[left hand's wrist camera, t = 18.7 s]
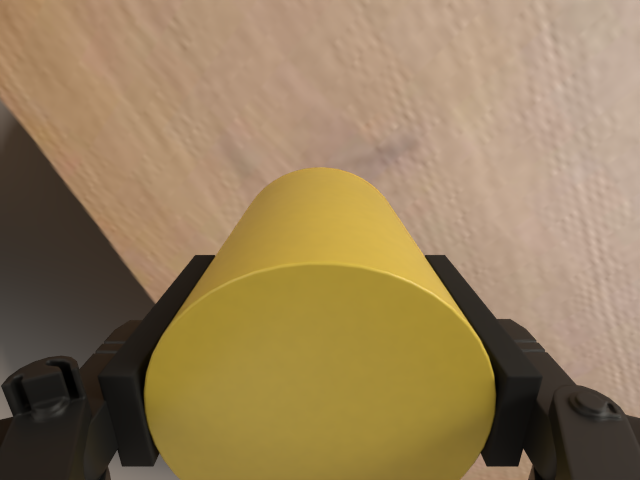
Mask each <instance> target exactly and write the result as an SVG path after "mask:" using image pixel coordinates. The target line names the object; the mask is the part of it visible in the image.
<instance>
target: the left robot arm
mask: <svg viewBox="0 0 640 480" xmlns="http://www.w3.org/2000/svg"><path fill="white" fill-rule="evenodd" d="M214 258H215V255H195V256H194V257H193V259H192V260H191V261H190V262H189V264H188V265H187V266H186V267H185V269H184V270H183V271H182V272H181V273H180V275H179V276H178V277H177V278H176V280H175V281H174V282H173V283H172V285H171V286H170V287H169V288H168V290H167V291H166V292H165V293H164V294H163V296H162V297H161V298H160V299H159V301H158V302H157V303H156V304H155V306H154V307H153V308H152V309H151V311H150V312H149V313H148V314H147V316H146V317H145V318H144V319H143V320H130V321H128V322H127V323H125V324H124V325H122V326H120V327H119V328H117V329H116V330H114V331H113V333H112V334H111V335H110V336H109V337H108V338H107V339H106V340H105V342H104V344H102V345H101V346H100V347H99V348H98V349H97V350H96V353H95V354H93V355H92V356H91V357H90V358H89V359H88V360H87V361H86V363H85V364H84V365H83V366H82V367H81V368H80V369H79V367H78V364H77V361H76V360H74V359H73V358H72V357H67V356H55V357H48V358H45V359H41V360H38V361H35V362H32V363H30V364H28V365H26V366H24V367H22V368H20V369H19V370H17V371H16V372H15V373H13V374H12V375H10V376H9V377H8V378H7V379H6V381H5V382H4V383H3V384H2V385H1V387H2V389H3V392H4V394H5V397H6V399H7V402H8V404H9V407H10V409H11V412H12V414H13V417H10V418H6V419H2V420H0V480H111V478H110V472H109V469H108V465H109V463H110V461H111V459H112V458H113V456H114V454H115V453H116V451H117V450H118V453H119V457H120V461H121V464H122V466H154V464H155V462H156V460H157V457H158V455H159V451H158V449H157V448H156V446H155V444H154V442H153V439H152V437H151V434H150V431H149V429H148V425H147V420H146V416H145V411H144V385H145V378H146V372H147V369H148V365H149V362H150V359H151V356H152V354H153V352H154V350H155V348H156V346H157V344H158V342H159V340H160V338H161V336H162V335H163V333H164V332H165V330H166V329H167V327H168V326H169V324H170V323H171V321H172V320H173V318H174V317H175V316H176V314H177V313H178V311H179V310H180V308H181V307H182V305H183V304H184V302H185V301H186V299H187V298H188V296H189V295H190V293H191V292H192V290H193V289H194V287H195V286H196V284H197V283H198V281H199V280H200V278H201V277H202V276H203V274H204V273H205V271H206V270H207V268H208V267H209V265H210V264H211V262H212V261H213V259H214ZM425 258H426V259H427V261H428V262H429V264H430V265H431V267H432V268H433V270H434V271H435V273H436V274H437V276H438V277H439V279H440V280H441V282H442V283H443V285H444V286H445V288H446V289H447V291H448V292H449V294H450V295H451V297H452V298H453V300H454V301H455V303H456V304H457V306H458V307H459V309H460V310H461V312H462V313H463V315H464V316H465V318H466V319H467V321H468V322H469V324H470V325H471V326H472V328H473V329H474V331H475V332H476V334H477V335H478V337H479V338H480V340H481V342H482V344H483V346H484V348H485V350H486V352H487V354H488V356H489V359H490V363H491V366H492V370H493V373H494V378H495V388H496V406H495V416H494V420H493V424H492V428H491V432H490V434H489V436H488V439H487V441H486V444H485V446H484V448H483V450H482V451H481V455H482V457H483V459H484V461H485V463H486V466H518V465H519V462H520V458H521V454H522V451H523V449H524V450H525V452H526V454H527V456H528V457H529V459H530V461H531V462H532V464H533V465H532V469H531V472H530V475H529V479H528V480H640V418H637V417H632V416H628V415H625V413H624V412H623V411H622V409H621V408H620V407H619V406H618V405H617V404H616V403H615V402H613V401H612V400H611V399H610V398H608V397H606V396H605V395H603V394H601V393H599V392H597V391H595V390H592V389H589V388H587V387H584V386H578V385H576V384H575V383H574V382H573V381H572V379H571V378H570V377H569V376H568V375H567V374H566V373H565V372H564V371H563V369H562V368H561V367H560V366H559V365H558V364H557V363H556V362H555V361H554V360H553V358H552V357H551V356H550V355H549V354H548V353H547V352H545V350H544V348H543V347H542V346H541V345H540V344H539V343H537V342H536V340H535V338H534V337H533V336H532V335H531V334H530V333H529V332H528V331H527V330H526V329H525V328H524V327H522V326H520V325H519V324H517V323H516V322H514V321H513V320H511V319H496V318H495V316H494V315H493V314H492V313H491V311H490V310H489V309H488V308H487V307H486V305H485V304H484V303H483V302H482V300H481V299H480V298H479V297H478V295H477V294H476V293H475V292H474V290H473V289H472V288H471V287H470V286H469V284H468V283H467V282H466V281H465V279H464V278H463V277H462V276H461V274H460V273H459V272H458V271H457V269H456V268H455V267H454V266H453V265H452V263H451V262H450V261H449V260H448V258H447V257H446V256H445V255H425Z"/></svg>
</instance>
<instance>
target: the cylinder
mask: <svg viewBox="0 0 640 480" xmlns="http://www.w3.org/2000/svg"><path fill="white" fill-rule="evenodd" d="M495 406H496V388H495V378H494V373H493V370H492V366H491V363H490V359H489V356H488V354H487V352H486V350H485V348H484V346H483V344H482V342H481V340H480V338H479V337H478V335H477V334H476V332H475V331H474V329H473V328H472V326H471V325H470V324H469V322H468V321H467V319H466V318H465V316H464V315H463V313H462V312H461V310H460V309H459V307H458V306H457V304H456V303H455V301H454V300H453V298H452V297H451V295H450V294H449V292H448V291H447V289H446V288H445V286H444V285H443V283H442V282H441V280H440V279H439V277H438V276H437V274H436V273H435V271H434V270H433V268H432V267H431V265H430V264H429V262H428V261H427V259H426V258H425V256H424V255H423V253H422V252H421V251H420V249H419V248H418V246H417V245H416V243H415V242H414V240H413V239H412V237H411V236H410V234H409V233H408V231H407V230H406V228H405V227H404V225H403V224H402V222H401V221H400V219H399V218H398V216H397V215H396V213H395V212H394V210H393V209H392V207H391V206H390V204H389V203H388V202H387V200H386V199H385V197H384V196H383V195H382V194H381V193H380V192H379V191H378V190H377V189H376V188H375V187H374V186H372V185H371V184H370V183H369V182H367V181H365V180H364V179H362V178H360V177H358V176H356V175H354V174H352V173H349V172H346V171H342V170H339V169H333V168H307V169H302V170H298V171H294V172H291V173H289V174H286V175H284V176H282V177H280V178H278V179H276V180H275V181H273V182H272V183H270V184H269V185H268V186H266V187H265V188H264V189H263V190H262V191H261V192H260V193H259V194H258V195H257V196H256V198H255V199H254V200H253V202H252V203H251V204H250V206H249V207H248V209H247V210H246V212H245V213H244V215H243V216H242V218H241V219H240V221H239V222H238V224H237V225H236V227H235V228H234V230H233V231H232V233H231V234H230V236H229V237H228V238H227V240H226V241H225V243H224V244H223V246H222V247H221V249H220V250H219V252H218V253H217V255H216V256H215V258H214V259H213V261H212V262H211V264H210V265H209V267H208V268H207V270H206V271H205V273H204V274H203V276H202V277H201V278H200V280H199V281H198V283H197V284H196V286H195V287H194V289H193V290H192V292H191V293H190V295H189V296H188V298H187V299H186V301H185V302H184V304H183V305H182V307H181V308H180V310H179V311H178V313H177V314H176V316H175V317H174V318H173V320H172V321H171V323H170V324H169V326H168V327H167V329H166V330H165V332H164V333H163V335H162V336H161V338H160V340H159V342H158V344H157V346H156V348H155V350H154V352H153V354H152V356H151V359H150V362H149V365H148V369H147V372H146V378H145V385H144V411H145V416H146V420H147V425H148V429H149V431H150V434H151V437H152V439H153V442H154V444H155V446H156V448H157V449H158V451H159V453H160V455H161V456H162V458H163V460H164V461H165V462H166V464H167V465H168V466H169V468H170V469H171V470H172V471H173V473H174V474H175V475H176V476H177V477H178V478H179V479H180V480H460V479H461V478H462V477H463V476H464V475H465V474H466V472H467V471H468V470H469V469H470V467H471V466H472V465H473V464H474V463H475V461H476V459H477V458H478V456H479V454H480V453H481V451H482V450H483V448H484V446H485V444H486V441H487V439H488V436H489V434H490V432H491V428H492V424H493V420H494V416H495Z"/></svg>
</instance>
